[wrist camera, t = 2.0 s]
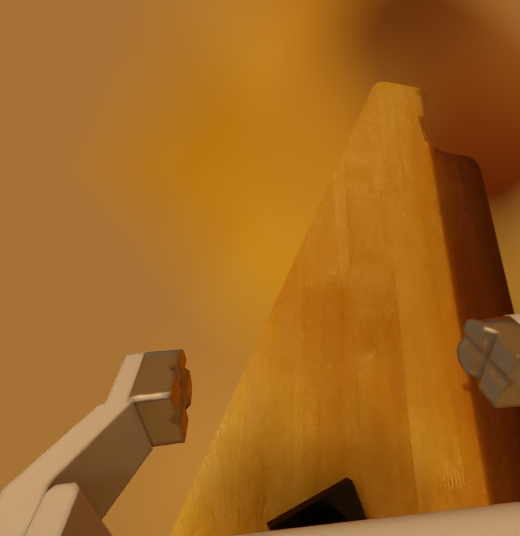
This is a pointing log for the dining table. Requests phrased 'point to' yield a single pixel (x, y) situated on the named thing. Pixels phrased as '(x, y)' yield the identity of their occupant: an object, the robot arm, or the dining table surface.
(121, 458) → the robot arm
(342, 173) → the dining table surface
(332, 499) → the bracket
